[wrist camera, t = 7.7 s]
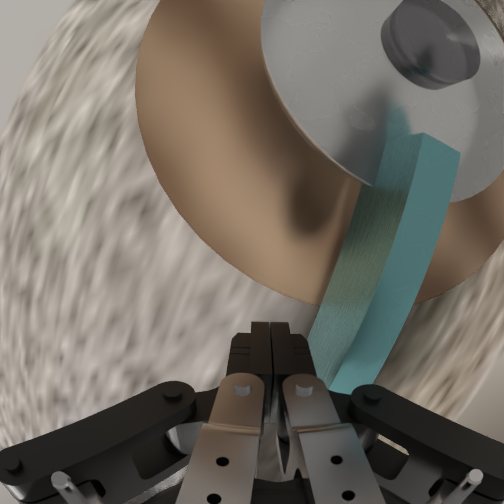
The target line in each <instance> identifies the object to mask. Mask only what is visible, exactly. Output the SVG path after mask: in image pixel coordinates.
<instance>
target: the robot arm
mask: <svg viewBox="0 0 504 504" xmlns="http://www.w3.org/2000/svg"><path fill="white" fill-rule="evenodd" d="M269 417H270V423H275V424H277V433H276V446H277V452H278V458H279V465H280V471H281V477H282V482H270V481H265V480H260V479H256V475H257V467H258V458H259V450H260V440H261V436H262V434H263V428H264V423H265V424H268V418H269ZM379 434H380V435H382V436H384V437H386V438H387V439H389V440H391V441H393V442H394V443H396V444H398V445H400V446H402V447H403V448H405V449H406V450H407V451H408V453H409V455H406V454H404V453H402V452H400V451H399V450H397V449H395V448H393V447H392V446H390V445H388V444H386V443H385V442H383V441H381V440H379V439H378V436H379ZM187 465H188V467H187V470H186V473H185V476H184V479H183V482H182V484H178V485H175V486H172V487H169V488H167V489H165V490H163V491H161V492H159V493H158V494H156V495H154V496H153V497H151V498H150V499H148V500H147V501H145V502H143V503H142V504H504V444H503V443H501V442H499V441H496V440H494V439H491V438H489V437H487V436H484V435H482V434H480V433H477V432H475V431H473V430H471V429H468V428H466V427H464V426H462V425H459V424H457V423H455V422H453V421H451V420H449V419H446V418H444V417H442V416H440V415H438V414H436V413H434V412H432V411H430V410H427V409H425V408H423V407H421V406H419V405H417V404H415V403H413V402H411V401H409V400H407V399H405V398H403V397H401V396H399V395H397V394H395V393H393V392H391V391H389V390H387V389H385V388H384V387H381V386H378V385H374V384H364V385H360V386H358V387H356V388H355V389H354V390H353V391H352V393H351V395H350V394H344V393H338V392H334V391H331V390H329V389H327V387H326V385H325V383H324V382H323V381H322V380H321V379H320V378H318V377H317V374H316V370H315V366H314V363H313V359H312V356H311V351H310V348H309V344H308V341H307V340H306V339H305V338H304V337H303V336H302V335H301V334H290V329H289V324H288V322H270V327H269V322H251V333H237V334H236V335H235V336H234V337H233V338H232V341H231V348H230V354H229V360H228V366H227V373H226V377H225V378H224V379H223V380H222V381H221V383H220V386H219V387H217V388H215V389H212V390H209V391H203V392H196V393H195V391H194V389H193V388H192V387H191V386H190V385H188V384H186V383H184V382H179V381H168V382H163V383H161V384H158V385H156V386H154V387H152V388H150V389H148V390H146V391H144V392H142V393H140V394H138V395H136V396H133V397H131V398H129V399H127V400H125V401H123V402H121V403H118V404H116V405H114V406H112V407H110V408H107V409H105V410H103V411H101V412H98V413H96V414H94V415H91V416H89V417H87V418H84V419H82V420H80V421H77V422H75V423H72V424H70V425H67V426H65V427H62V428H60V429H57V430H55V431H52V432H50V433H47V434H44V435H42V436H39V437H36V438H34V439H31V440H28V441H25V442H23V443H20V444H17V445H14V446H11V447H8V448H5V449H3V450H2V451H0V482H1V483H2V484H3V485H4V486H5V487H6V488H7V489H8V490H9V492H10V493H11V495H12V496H13V497H14V498H15V499H16V500H17V501H18V502H19V503H20V504H122V503H124V502H126V501H128V500H130V499H132V498H133V497H135V496H137V495H139V494H141V493H142V492H144V491H146V490H148V489H149V488H151V487H153V486H155V485H156V484H158V483H160V482H161V481H163V480H164V479H166V478H168V477H169V476H171V475H173V474H174V473H176V472H177V471H179V470H180V469H182V468H183V467H185V466H187Z"/></svg>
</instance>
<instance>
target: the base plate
mask: <svg viewBox="0 0 504 504" xmlns="http://www.w3.org/2000/svg"><path fill="white" fill-rule="evenodd" d="M474 1H475V2H476V3H477V4H478V5H479V6H480V8H481V9H482V10H483V11H484V13H485V14H486V15H487V16H488V18H489V19H490V21H491V22H492V24H493V25H494V27H495V28H496V30H497V32H498V33H499V35H500V37H501V39H502V41H503V43H504V37H503V36H502V34H501V32H500V31H499V29H498V27H497V26H496V24H495V23H494V21H493V20H492V19H491V17H490V16H489V15H488V13H487V12H486V11H485V9H484V8H483V7H482V6H481V4H480V3H479V2H478V1H477V0H474ZM263 3H264V0H160V2H159V4H158V5H157V7H156V9H155V10H154V12H153V14H152V16H151V18H150V21H149V23H148V26H147V28H146V31H145V33H144V36H143V39H142V42H141V46H140V51H139V56H138V61H137V66H136V85H135V98H136V107H137V115H138V123H139V128H140V131H141V135H142V138H143V142H144V145H145V149H146V152H147V155H148V158H149V160H150V162H151V164H152V167H153V169H154V171H155V173H156V175H157V178H158V180H159V182H160V184H161V186H162V187H163V189H164V191H165V192H166V194H167V195H168V197H169V198H170V200H171V202H172V203H173V205H174V206H175V208H176V209H177V211H178V212H179V214H180V215H181V216H182V217H183V218H184V220H185V221H186V222H187V223H188V224H189V225H190V227H191V228H192V229H193V230H194V231H195V233H196V234H197V235H198V236H199V237H200V238H201V239H202V240H203V241H204V242H205V243H206V244H207V245H208V246H210V247H211V248H212V249H213V250H214V251H215V252H216V253H217V254H218V255H220V256H221V257H222V258H223V259H224V260H225V261H227V262H228V263H229V264H231V265H232V266H234V267H235V268H237V269H238V270H240V271H241V272H243V273H244V274H245V275H247V276H248V277H250V278H251V279H253V280H255V281H257V282H259V283H261V284H263V285H265V286H267V287H269V288H271V289H272V290H274V291H276V292H278V293H280V294H283V295H286V296H288V297H291V298H294V299H297V300H300V301H303V302H306V303H309V304H312V305H317V306H321V303H322V301H323V298H324V296H325V293H326V290H327V288H328V285H329V282H330V279H331V277H332V274H333V271H334V268H335V266H336V263H337V260H338V257H339V254H340V251H341V248H342V245H343V242H344V239H345V236H346V233H347V230H348V227H349V224H350V221H351V218H352V215H353V212H354V208H355V205H356V202H357V199H358V195H359V192H360V188H361V185H362V184H359V183H358V182H356V181H354V180H353V179H351V178H349V177H348V176H346V175H344V174H343V173H341V172H340V171H339V170H337V169H336V168H335V167H333V166H332V165H331V164H329V163H328V162H327V161H325V160H324V159H323V158H322V157H321V156H320V155H319V154H318V153H317V152H316V151H315V150H314V149H313V148H312V147H311V146H309V144H308V143H307V142H306V141H305V140H304V139H303V137H302V136H301V135H300V134H299V133H298V132H297V130H296V129H295V128H294V127H293V125H292V124H291V122H290V121H289V119H288V118H287V116H286V115H285V114H284V112H283V111H282V109H281V107H280V105H279V103H278V101H277V99H276V97H275V95H274V94H273V91H272V89H271V86H270V83H269V81H268V78H267V76H266V72H265V68H264V64H263V59H262V52H261V15H262V7H263ZM503 239H504V170H503V172H502V173H501V174H500V175H499V176H498V177H497V179H496V180H495V181H494V182H493V183H492V184H490V185H489V186H488V187H487V188H486V189H484V190H483V191H481V192H479V193H478V194H476V195H474V196H472V197H469V198H466V199H464V200H461V201H457V202H450V203H449V205H448V209H447V212H446V216H445V219H444V222H443V226H442V229H441V232H440V235H439V238H438V241H437V244H436V247H435V250H434V253H433V255H432V258H431V261H430V264H429V266H428V269H427V271H426V274H425V277H424V279H423V282H422V284H421V287H420V289H419V291H418V294H417V296H416V299H415V301H414V303H413V305H414V304H418V303H421V302H423V301H426V300H428V299H431V298H433V297H436V296H438V295H441V294H443V293H444V292H446V291H448V290H449V289H451V288H453V287H455V286H456V285H458V284H460V283H461V282H463V281H464V280H465V279H466V278H468V277H469V276H470V275H471V274H473V273H474V272H475V271H476V270H478V269H479V268H480V267H481V266H482V265H483V264H484V263H485V262H486V260H487V259H488V258H489V257H490V256H491V255H492V254H493V253H494V252H495V250H496V249H497V248H498V246H499V245H500V243H501V242H502V241H503Z"/></svg>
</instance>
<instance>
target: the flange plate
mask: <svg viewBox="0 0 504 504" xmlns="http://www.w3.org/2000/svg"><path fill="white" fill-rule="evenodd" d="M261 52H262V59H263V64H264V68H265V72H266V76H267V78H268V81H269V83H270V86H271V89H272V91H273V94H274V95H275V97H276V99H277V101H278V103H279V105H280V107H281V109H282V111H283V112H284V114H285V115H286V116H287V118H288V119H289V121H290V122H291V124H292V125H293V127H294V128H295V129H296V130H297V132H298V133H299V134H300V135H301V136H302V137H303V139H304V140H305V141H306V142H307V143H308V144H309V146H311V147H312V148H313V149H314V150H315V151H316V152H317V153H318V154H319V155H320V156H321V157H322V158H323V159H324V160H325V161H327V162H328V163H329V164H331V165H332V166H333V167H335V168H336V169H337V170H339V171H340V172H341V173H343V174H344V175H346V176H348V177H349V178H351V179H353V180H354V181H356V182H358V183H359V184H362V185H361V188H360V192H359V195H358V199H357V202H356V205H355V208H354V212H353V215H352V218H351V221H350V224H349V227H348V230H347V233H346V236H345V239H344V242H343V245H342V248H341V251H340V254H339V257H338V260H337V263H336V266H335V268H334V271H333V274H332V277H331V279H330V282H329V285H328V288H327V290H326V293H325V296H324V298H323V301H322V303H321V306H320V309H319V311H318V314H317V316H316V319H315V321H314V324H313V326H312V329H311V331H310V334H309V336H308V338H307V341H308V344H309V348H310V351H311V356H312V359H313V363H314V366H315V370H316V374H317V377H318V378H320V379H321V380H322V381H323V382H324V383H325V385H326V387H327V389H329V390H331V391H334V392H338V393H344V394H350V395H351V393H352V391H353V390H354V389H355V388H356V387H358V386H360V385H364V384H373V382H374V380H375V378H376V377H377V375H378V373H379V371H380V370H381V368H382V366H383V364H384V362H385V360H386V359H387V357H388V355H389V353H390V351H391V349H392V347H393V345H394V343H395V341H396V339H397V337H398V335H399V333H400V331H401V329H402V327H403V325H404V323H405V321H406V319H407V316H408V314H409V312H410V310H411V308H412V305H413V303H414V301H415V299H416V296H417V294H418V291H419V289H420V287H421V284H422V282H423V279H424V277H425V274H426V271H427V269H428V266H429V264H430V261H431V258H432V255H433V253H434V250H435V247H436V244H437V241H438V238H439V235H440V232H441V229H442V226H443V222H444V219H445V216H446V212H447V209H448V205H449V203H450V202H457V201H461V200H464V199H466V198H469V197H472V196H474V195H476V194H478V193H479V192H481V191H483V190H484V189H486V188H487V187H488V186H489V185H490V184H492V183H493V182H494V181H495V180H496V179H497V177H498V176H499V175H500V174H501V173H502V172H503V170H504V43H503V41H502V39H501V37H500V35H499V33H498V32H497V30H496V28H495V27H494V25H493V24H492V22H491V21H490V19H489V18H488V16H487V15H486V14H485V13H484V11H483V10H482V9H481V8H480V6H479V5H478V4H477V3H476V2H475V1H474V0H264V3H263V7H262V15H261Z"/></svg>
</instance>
